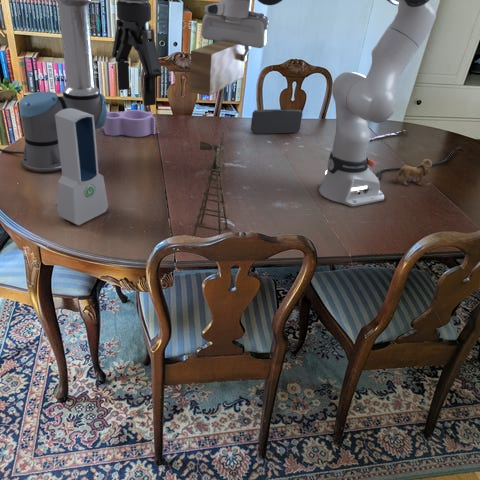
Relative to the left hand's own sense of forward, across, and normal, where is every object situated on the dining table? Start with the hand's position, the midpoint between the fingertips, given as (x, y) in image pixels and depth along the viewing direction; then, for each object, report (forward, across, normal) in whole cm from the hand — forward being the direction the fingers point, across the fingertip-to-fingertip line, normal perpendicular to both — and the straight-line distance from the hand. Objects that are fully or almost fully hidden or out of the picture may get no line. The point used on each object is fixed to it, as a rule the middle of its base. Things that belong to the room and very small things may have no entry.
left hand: (136, 97), depth 115 cm
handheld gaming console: (+36, +39, -87) cm, 102 cm away
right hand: (-4, +15, -40) cm, 43 cm away
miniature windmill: (+36, -15, -14) cm, 41 cm away
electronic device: (+36, +11, +12) cm, 39 cm away
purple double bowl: (+36, +65, -30) cm, 80 cm away
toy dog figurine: (+36, -23, -100) cm, 108 cm away
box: (+2, +10, -32) cm, 33 cm away
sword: (+36, +12, -132) cm, 137 cm away
